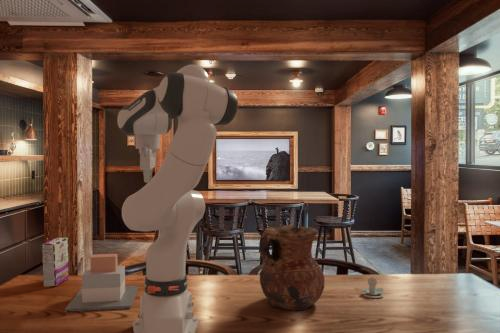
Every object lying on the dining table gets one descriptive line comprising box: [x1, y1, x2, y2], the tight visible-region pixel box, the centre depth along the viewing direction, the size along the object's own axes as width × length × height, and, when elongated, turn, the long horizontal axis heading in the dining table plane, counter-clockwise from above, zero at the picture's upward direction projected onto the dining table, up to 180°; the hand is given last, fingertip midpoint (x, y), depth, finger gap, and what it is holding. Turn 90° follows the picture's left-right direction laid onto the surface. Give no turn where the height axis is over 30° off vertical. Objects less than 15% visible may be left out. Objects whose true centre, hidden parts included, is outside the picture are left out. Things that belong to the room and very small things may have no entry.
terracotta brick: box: [89, 253, 119, 272], centre depth 138 cm, size 4×8×5 cm, turn 98°
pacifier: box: [361, 276, 384, 299], centre depth 142 cm, size 7×6×6 cm
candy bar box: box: [41, 237, 70, 286], centre depth 156 cm, size 11×5×16 cm, turn 179°
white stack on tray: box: [64, 264, 140, 312], centre depth 138 cm, size 20×20×10 cm
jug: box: [258, 224, 326, 312], centre depth 134 cm, size 22×21×25 cm
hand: (147, 181), depth 152 cm, fingers open, 8 cm apart
